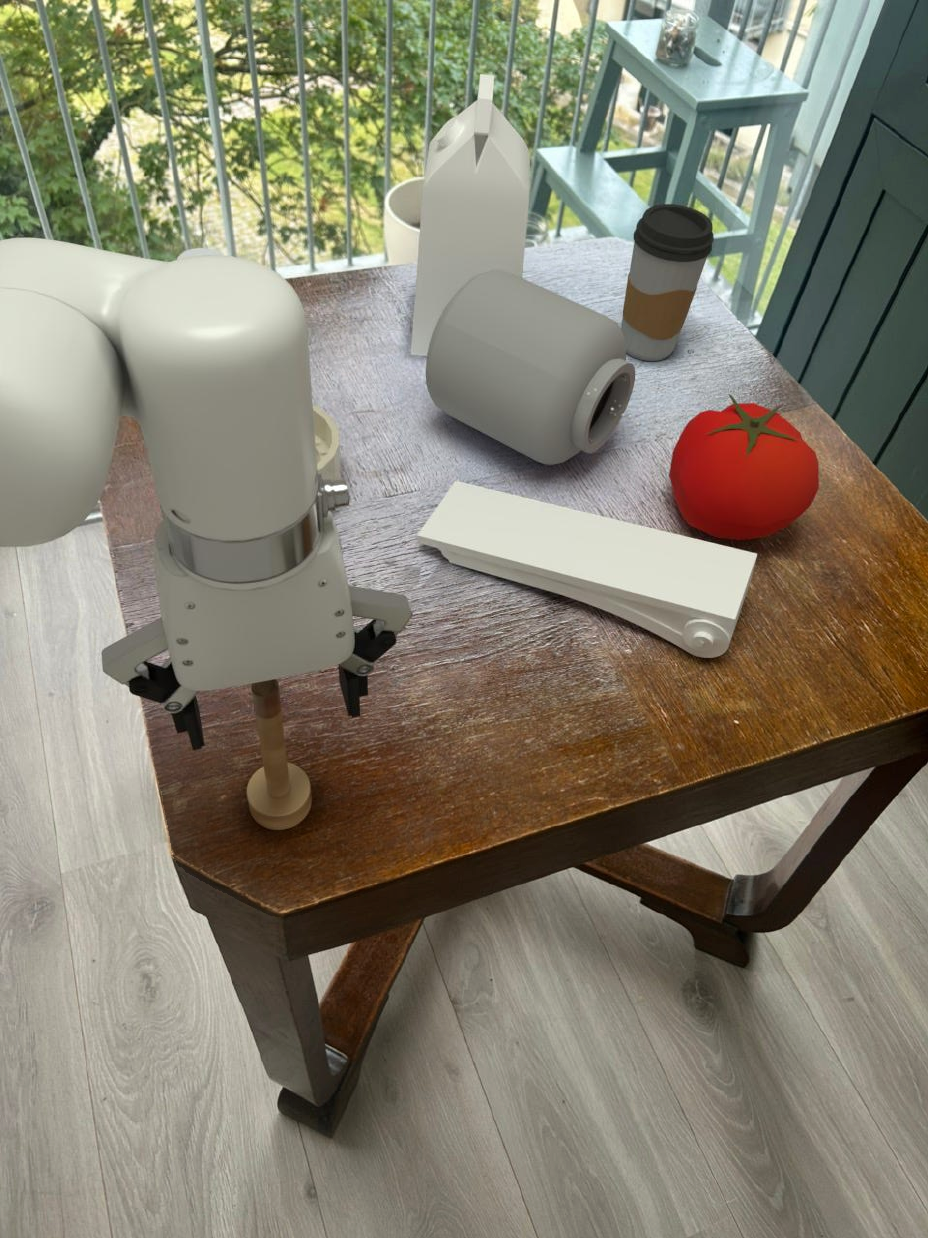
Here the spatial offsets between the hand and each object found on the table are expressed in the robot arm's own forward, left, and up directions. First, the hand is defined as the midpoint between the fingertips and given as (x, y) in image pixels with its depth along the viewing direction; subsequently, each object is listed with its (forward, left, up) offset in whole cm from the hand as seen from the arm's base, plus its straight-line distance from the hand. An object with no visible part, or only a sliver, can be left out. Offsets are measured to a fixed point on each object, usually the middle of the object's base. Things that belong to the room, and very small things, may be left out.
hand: (274, 714), depth 60 cm
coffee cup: (+1, +70, -11) cm, 71 cm away
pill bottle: (-37, +40, -11) cm, 56 cm away
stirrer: (0, 0, -11) cm, 11 cm away
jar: (-1, +49, -11) cm, 50 cm away
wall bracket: (+9, +32, -11) cm, 35 cm away
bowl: (-20, +27, -11) cm, 35 cm away
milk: (-18, +61, -11) cm, 64 cm away
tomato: (+18, +47, -11) cm, 51 cm away
